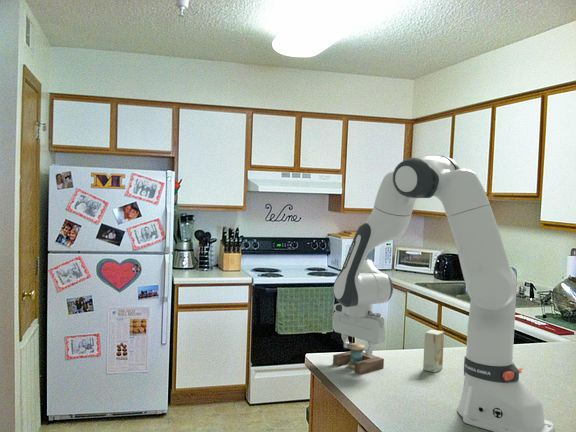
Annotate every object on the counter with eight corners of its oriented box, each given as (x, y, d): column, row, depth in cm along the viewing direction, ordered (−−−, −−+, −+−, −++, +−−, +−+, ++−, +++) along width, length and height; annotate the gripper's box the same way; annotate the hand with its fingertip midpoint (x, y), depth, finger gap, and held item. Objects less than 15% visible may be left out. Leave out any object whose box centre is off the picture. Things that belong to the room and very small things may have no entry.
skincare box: (435, 373, 167) (437, 334, 166) (422, 370, 169) (424, 332, 169) (443, 368, 172) (444, 331, 171) (430, 365, 174) (431, 328, 174)
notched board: (383, 367, 170) (383, 358, 170) (360, 374, 163) (360, 364, 163) (356, 358, 179) (356, 349, 179) (332, 364, 172) (333, 355, 172)
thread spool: (367, 367, 170) (367, 345, 170) (356, 370, 167) (357, 348, 167) (355, 363, 174) (356, 342, 174) (345, 366, 171) (345, 344, 171)
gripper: (390, 313, 164) (389, 357, 164) (343, 302, 180) (342, 342, 180) (377, 315, 160) (375, 361, 160) (330, 304, 176) (329, 345, 176)
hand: (357, 351), depth 170 cm, fingers open, 8 cm apart
